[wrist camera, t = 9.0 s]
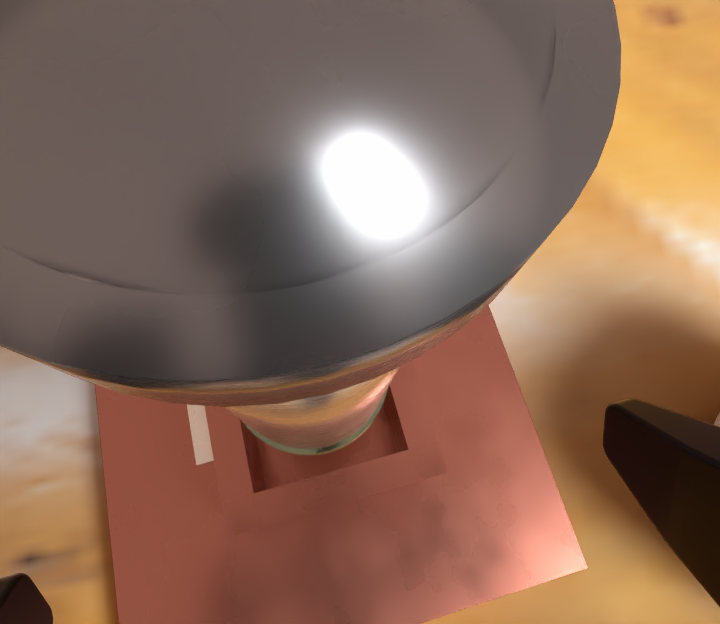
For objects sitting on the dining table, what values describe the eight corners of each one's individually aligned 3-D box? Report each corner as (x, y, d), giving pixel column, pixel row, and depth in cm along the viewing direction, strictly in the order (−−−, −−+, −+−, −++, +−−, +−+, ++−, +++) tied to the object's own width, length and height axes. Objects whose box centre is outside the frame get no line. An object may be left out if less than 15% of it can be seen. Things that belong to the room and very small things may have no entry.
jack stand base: (572, 562, 19) (636, 583, 15) (142, 705, 17) (82, 773, 13) (440, 206, 24) (462, 150, 20) (96, 280, 22) (43, 234, 18)
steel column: (409, 444, 15) (772, 250, 3) (250, 489, 14) (-270, 513, 2) (366, 300, 16) (469, -261, 4) (222, 334, 16) (-179, -208, 3)
